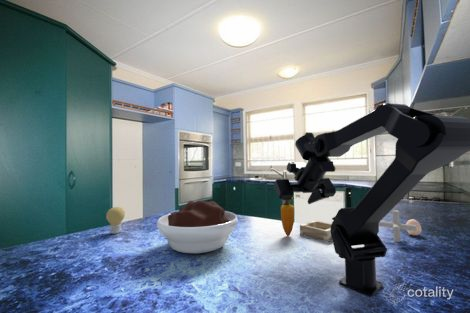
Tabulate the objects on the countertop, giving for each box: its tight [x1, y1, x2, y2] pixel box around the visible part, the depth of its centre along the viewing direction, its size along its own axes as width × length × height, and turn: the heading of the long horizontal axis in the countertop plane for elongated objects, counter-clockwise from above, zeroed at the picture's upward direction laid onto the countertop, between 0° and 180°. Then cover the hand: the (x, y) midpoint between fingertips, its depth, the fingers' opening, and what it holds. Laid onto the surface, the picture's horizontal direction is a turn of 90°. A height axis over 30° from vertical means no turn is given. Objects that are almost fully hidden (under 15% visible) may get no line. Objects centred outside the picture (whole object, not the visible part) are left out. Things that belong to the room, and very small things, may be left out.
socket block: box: [299, 220, 333, 243], centre depth 80 cm, size 10×10×4 cm
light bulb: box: [105, 206, 126, 235], centre depth 86 cm, size 6×6×10 cm
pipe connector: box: [379, 209, 416, 243], centre depth 73 cm, size 10×10×10 cm
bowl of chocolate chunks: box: [156, 199, 239, 254], centre depth 70 cm, size 25×25×15 cm
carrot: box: [280, 197, 295, 237], centre depth 79 cm, size 5×5×15 cm
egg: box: [405, 218, 422, 236], centre depth 79 cm, size 4×4×6 cm
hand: (296, 203), depth 73 cm, fingers open, 9 cm apart
